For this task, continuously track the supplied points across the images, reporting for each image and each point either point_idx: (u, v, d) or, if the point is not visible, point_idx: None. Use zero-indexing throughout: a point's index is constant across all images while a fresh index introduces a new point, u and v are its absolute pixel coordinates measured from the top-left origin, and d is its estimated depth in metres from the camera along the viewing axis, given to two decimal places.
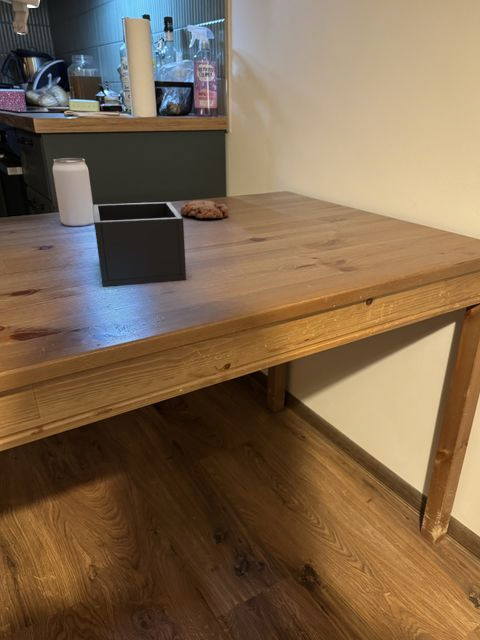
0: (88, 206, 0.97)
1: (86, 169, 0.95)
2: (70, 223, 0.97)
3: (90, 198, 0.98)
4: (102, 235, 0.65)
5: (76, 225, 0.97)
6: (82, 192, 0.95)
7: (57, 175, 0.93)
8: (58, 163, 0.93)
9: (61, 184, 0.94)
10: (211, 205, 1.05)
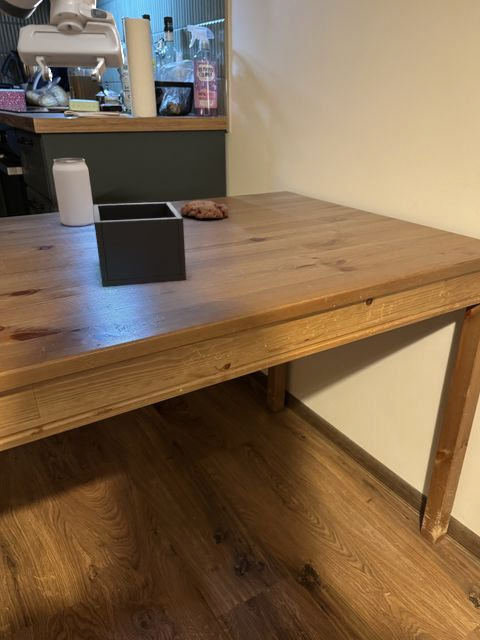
0: (88, 206, 0.97)
1: (86, 169, 0.95)
2: (70, 223, 0.97)
3: (90, 198, 0.98)
4: (102, 235, 0.65)
5: (76, 225, 0.97)
6: (82, 192, 0.95)
7: (57, 175, 0.93)
8: (58, 163, 0.93)
9: (61, 184, 0.94)
10: (211, 205, 1.05)
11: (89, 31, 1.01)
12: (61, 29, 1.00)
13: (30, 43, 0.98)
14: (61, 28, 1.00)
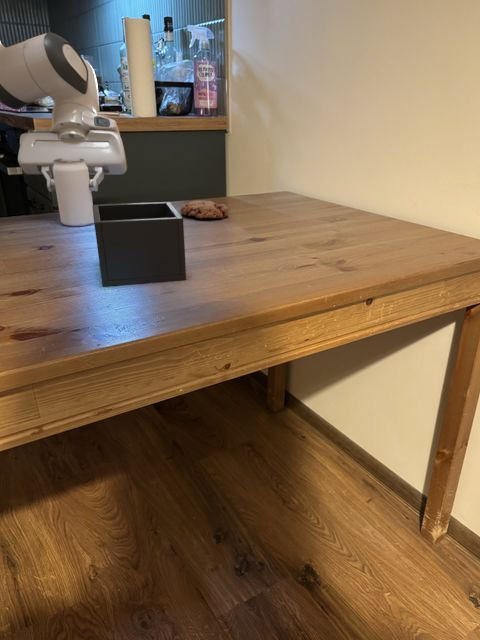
0: (88, 206, 0.97)
1: (86, 169, 0.95)
2: (70, 223, 0.97)
3: (90, 198, 0.98)
4: (102, 235, 0.65)
5: (76, 225, 0.97)
6: (82, 192, 0.95)
7: (57, 175, 0.93)
8: (58, 163, 0.93)
9: (61, 184, 0.94)
10: (211, 205, 1.05)
11: (92, 139, 0.98)
12: (63, 137, 0.97)
13: (31, 154, 0.96)
14: (63, 137, 0.97)
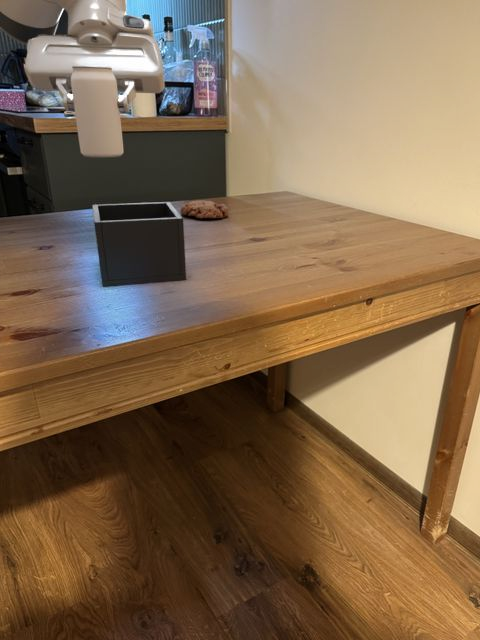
0: (116, 130, 0.75)
1: (114, 80, 0.73)
2: (93, 153, 0.75)
3: (119, 121, 0.75)
4: (102, 235, 0.65)
5: (101, 156, 0.75)
6: (109, 111, 0.73)
7: (77, 86, 0.71)
8: (79, 69, 0.70)
9: (82, 98, 0.71)
10: (211, 205, 1.05)
11: (120, 45, 0.76)
12: (83, 42, 0.75)
13: (42, 61, 0.73)
14: (83, 41, 0.75)
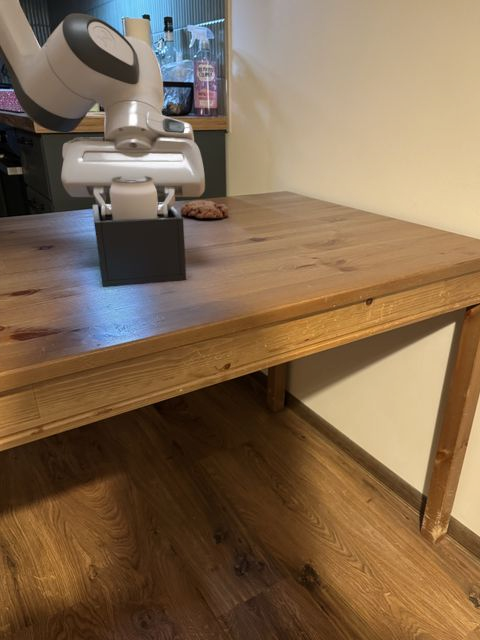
0: None
1: (155, 191, 0.69)
2: None
3: None
4: (102, 235, 0.65)
5: None
6: None
7: (117, 200, 0.67)
8: (119, 184, 0.67)
9: (122, 212, 0.68)
10: (211, 205, 1.05)
11: (160, 150, 0.73)
12: (121, 148, 0.72)
13: (79, 170, 0.70)
14: (121, 147, 0.72)
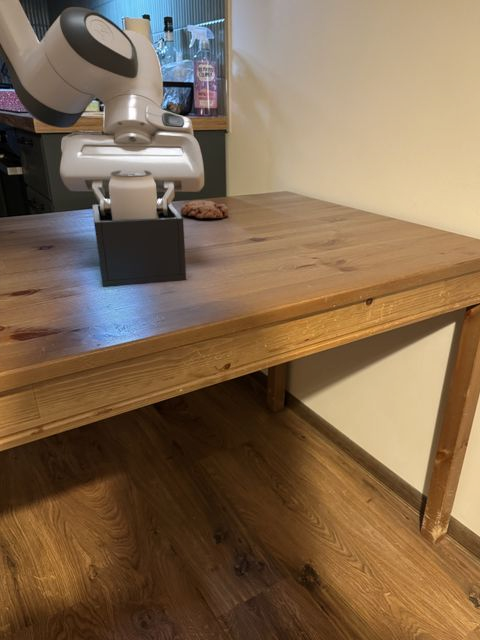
0: None
1: (154, 186, 0.69)
2: None
3: None
4: (102, 235, 0.65)
5: None
6: (149, 218, 0.69)
7: (116, 194, 0.67)
8: (118, 178, 0.67)
9: (121, 207, 0.68)
10: (211, 205, 1.05)
11: (159, 144, 0.72)
12: (120, 142, 0.71)
13: (78, 164, 0.70)
14: (121, 141, 0.71)
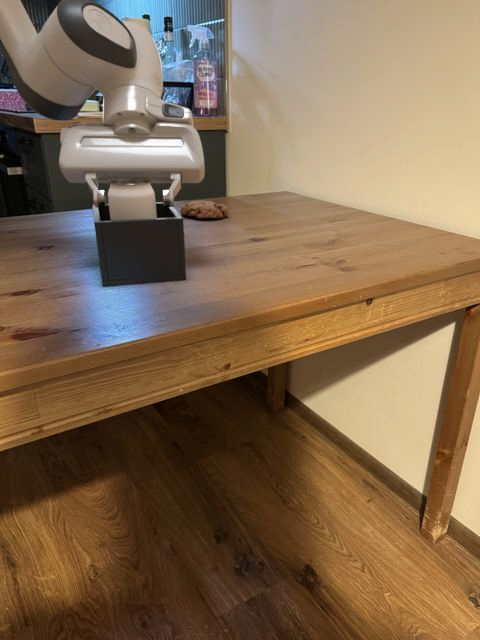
0: None
1: (153, 194, 0.69)
2: None
3: None
4: (102, 235, 0.65)
5: None
6: None
7: (114, 203, 0.68)
8: (116, 187, 0.67)
9: (119, 215, 0.68)
10: (211, 205, 1.05)
11: (159, 135, 0.72)
12: (120, 133, 0.71)
13: (77, 155, 0.69)
14: (120, 132, 0.71)
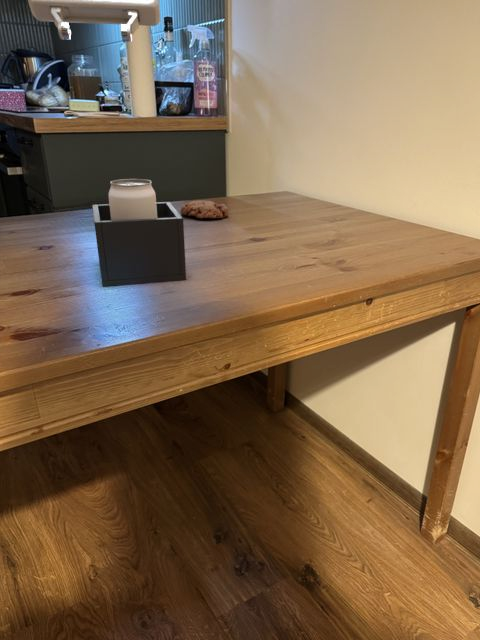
0: None
1: (154, 195, 0.69)
2: None
3: None
4: (102, 235, 0.65)
5: None
6: None
7: (115, 204, 0.68)
8: (117, 187, 0.67)
9: (120, 216, 0.68)
10: (211, 205, 1.05)
11: None
12: None
13: None
14: None
